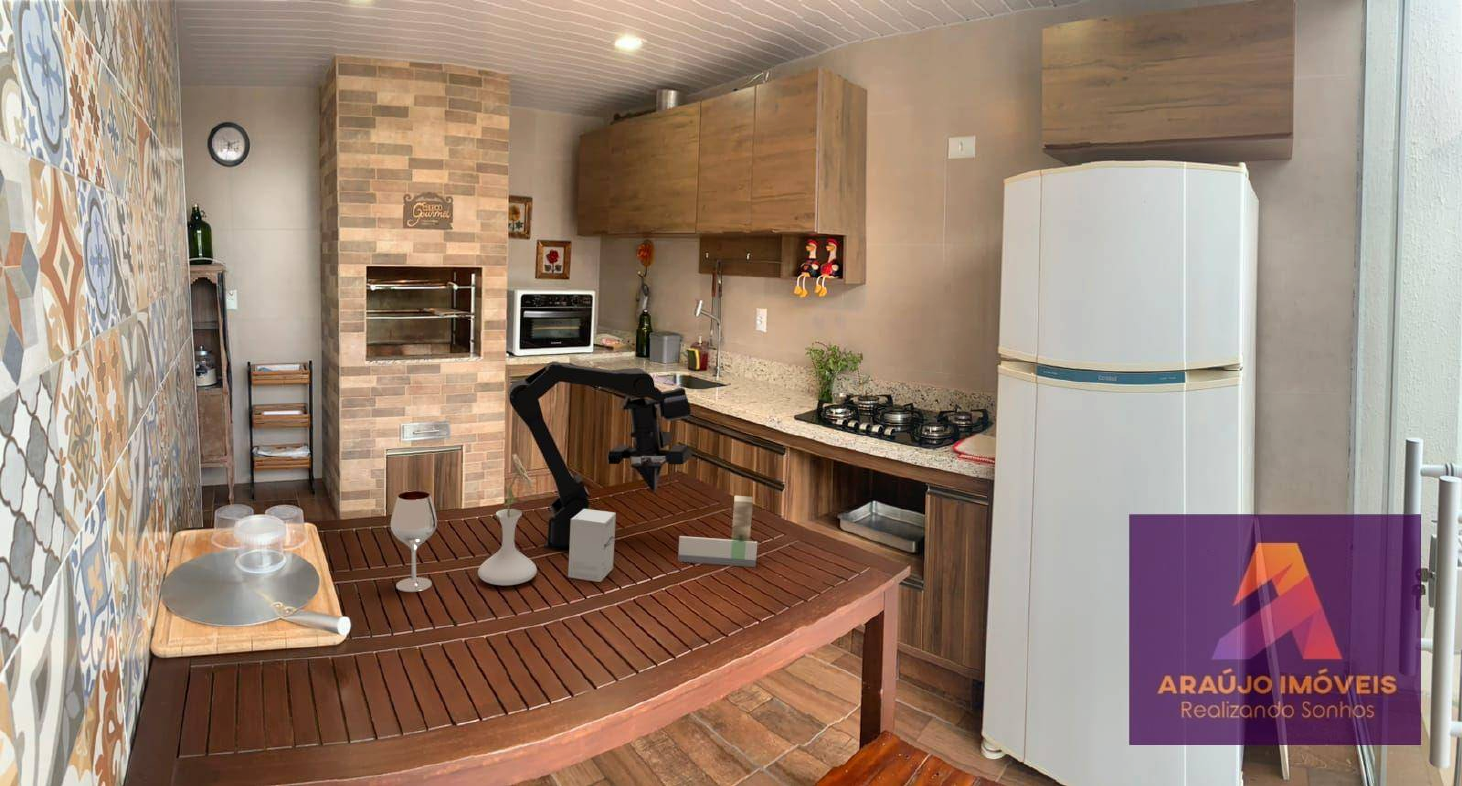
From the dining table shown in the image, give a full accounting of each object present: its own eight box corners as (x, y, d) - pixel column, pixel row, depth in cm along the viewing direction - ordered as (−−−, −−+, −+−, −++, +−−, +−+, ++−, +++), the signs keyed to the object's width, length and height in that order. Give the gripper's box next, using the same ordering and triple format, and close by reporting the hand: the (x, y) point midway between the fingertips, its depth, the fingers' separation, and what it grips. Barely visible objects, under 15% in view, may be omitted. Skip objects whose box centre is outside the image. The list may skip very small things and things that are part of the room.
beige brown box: (727, 557, 175) (731, 504, 173) (728, 547, 182) (732, 495, 179) (750, 559, 175) (755, 505, 173) (750, 548, 182) (754, 496, 179)
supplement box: (601, 583, 162) (604, 523, 160) (567, 577, 163) (569, 518, 161) (614, 569, 169) (616, 512, 167) (580, 564, 170) (583, 507, 168)
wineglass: (392, 596, 149) (392, 503, 146) (388, 579, 156) (388, 490, 153) (439, 591, 153) (440, 500, 150) (433, 574, 160) (434, 487, 157)
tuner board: (677, 561, 176) (679, 537, 175) (680, 548, 184) (682, 525, 183) (755, 567, 176) (757, 543, 175) (754, 553, 184) (756, 530, 183)
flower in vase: (528, 593, 155) (532, 467, 151) (469, 588, 155) (471, 463, 151) (544, 566, 168) (548, 450, 163) (490, 562, 168) (492, 446, 163)
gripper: (696, 414, 185) (704, 478, 188) (623, 415, 191) (632, 477, 195) (678, 428, 174) (686, 496, 178) (601, 429, 181) (611, 494, 184)
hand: (653, 490), depth 184 cm, fingers closed
